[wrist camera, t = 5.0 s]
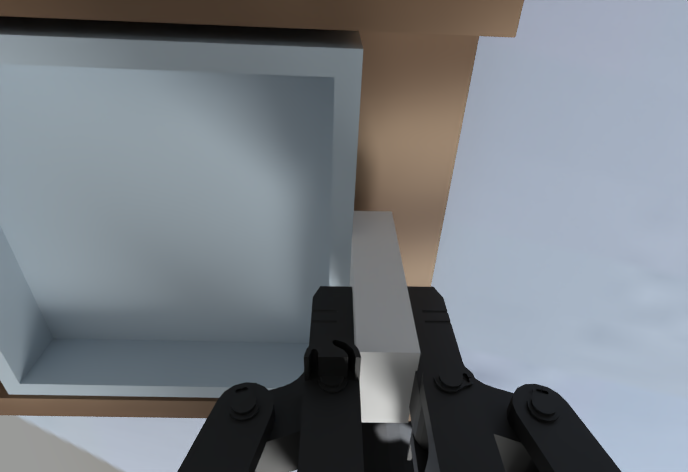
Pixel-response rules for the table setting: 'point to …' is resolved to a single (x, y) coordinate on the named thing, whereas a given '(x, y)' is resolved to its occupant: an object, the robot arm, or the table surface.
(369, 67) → the bay
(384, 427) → the spotted tube
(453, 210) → the table surface
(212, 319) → the shallow square tray
